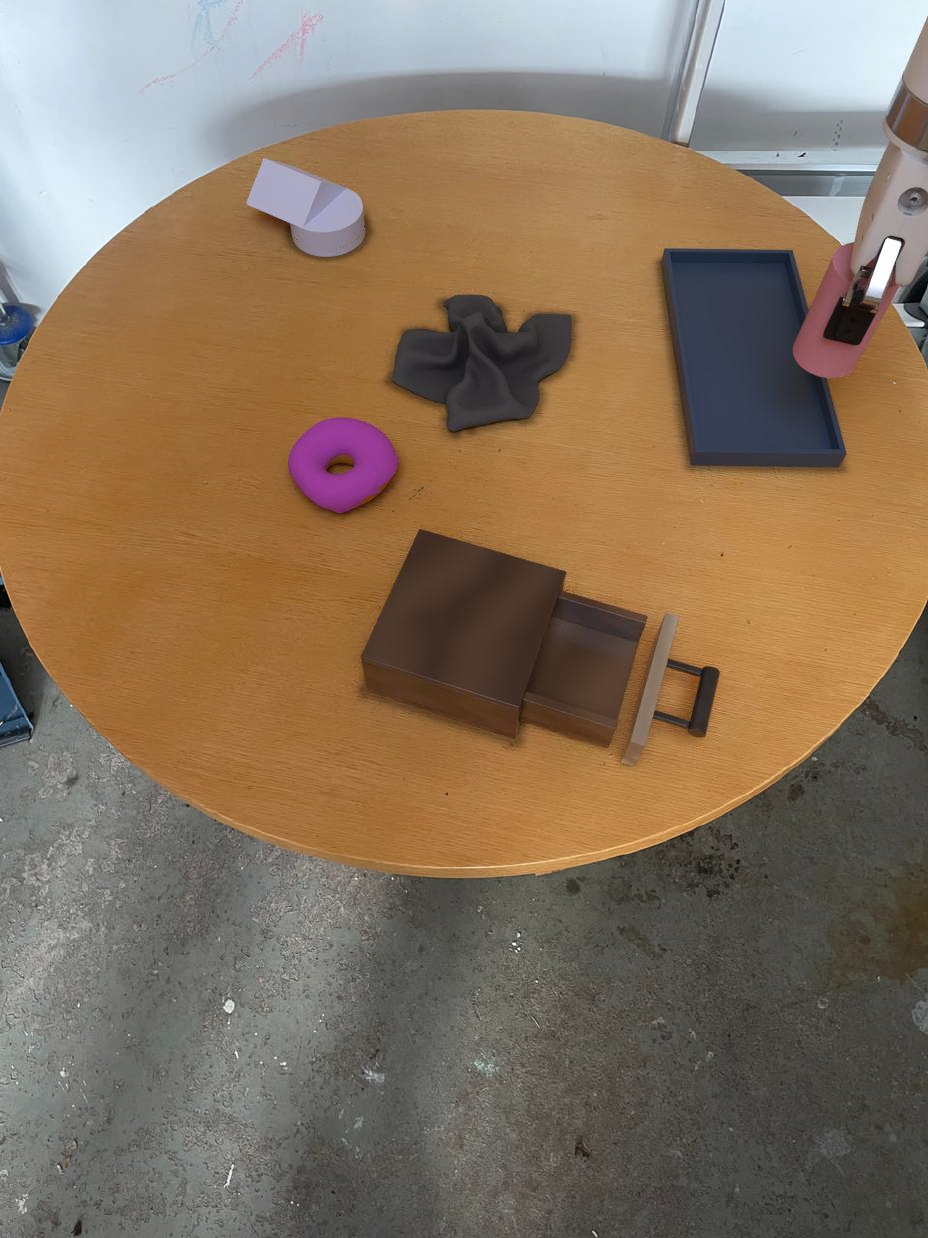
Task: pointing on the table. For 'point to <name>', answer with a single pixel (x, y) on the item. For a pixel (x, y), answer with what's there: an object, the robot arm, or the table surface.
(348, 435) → the donut
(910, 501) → the table surface
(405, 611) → the cabinet
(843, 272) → the cylinder
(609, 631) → the drawer
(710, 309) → the tray
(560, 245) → the table surface
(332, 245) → the wedge on round base
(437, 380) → the cloth
